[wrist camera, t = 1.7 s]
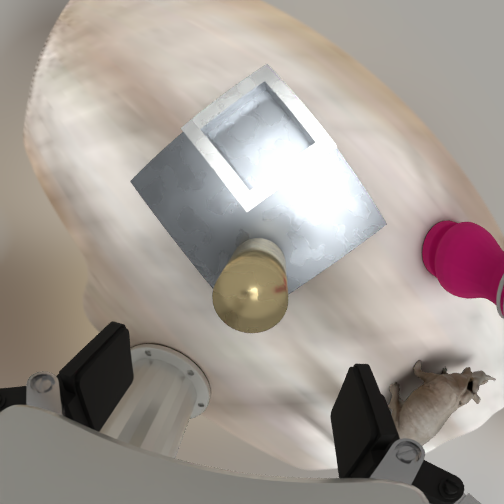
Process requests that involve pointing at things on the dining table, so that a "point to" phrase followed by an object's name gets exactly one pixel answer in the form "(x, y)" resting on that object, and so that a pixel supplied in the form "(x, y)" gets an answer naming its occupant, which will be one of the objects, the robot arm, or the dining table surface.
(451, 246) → the pepper mill
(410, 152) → the dining table surface
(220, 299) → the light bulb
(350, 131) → the dining table surface
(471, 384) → the rhinoceros figurine
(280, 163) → the plate
